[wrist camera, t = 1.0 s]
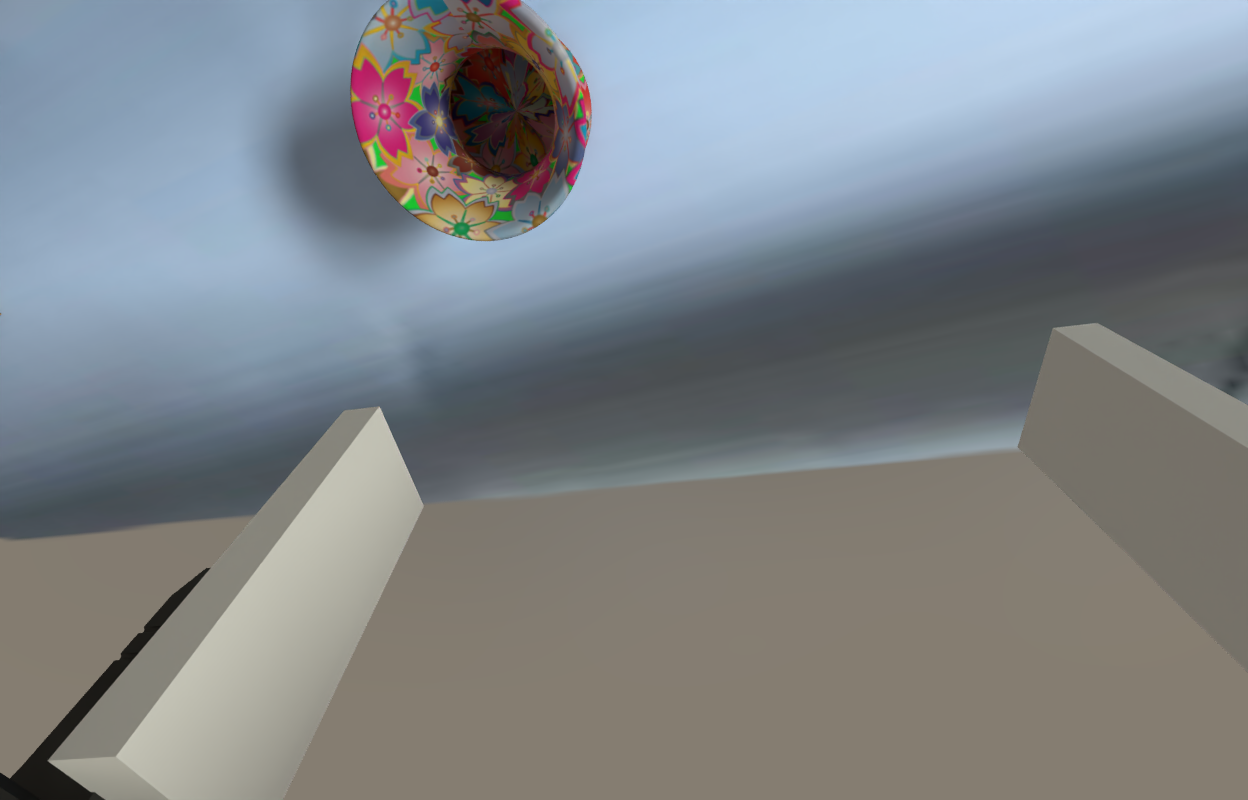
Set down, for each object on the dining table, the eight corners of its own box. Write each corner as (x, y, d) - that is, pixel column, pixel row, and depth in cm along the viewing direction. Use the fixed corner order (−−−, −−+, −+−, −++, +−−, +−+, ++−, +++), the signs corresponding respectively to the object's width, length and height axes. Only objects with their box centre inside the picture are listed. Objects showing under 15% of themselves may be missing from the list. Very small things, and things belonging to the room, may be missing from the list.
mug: (610, 186, 32) (601, 228, 23) (460, 205, 33) (395, 253, 24) (576, -72, 26) (547, -151, 17) (394, -41, 27) (274, -103, 18)
